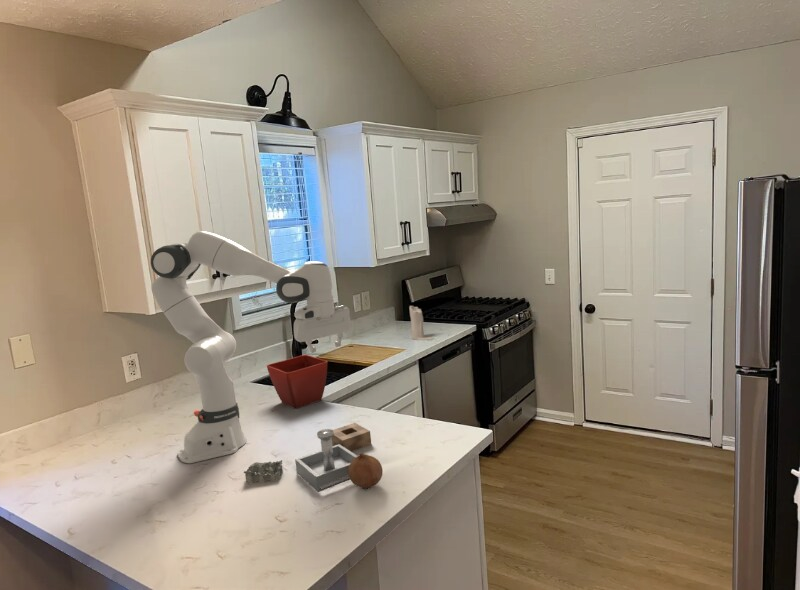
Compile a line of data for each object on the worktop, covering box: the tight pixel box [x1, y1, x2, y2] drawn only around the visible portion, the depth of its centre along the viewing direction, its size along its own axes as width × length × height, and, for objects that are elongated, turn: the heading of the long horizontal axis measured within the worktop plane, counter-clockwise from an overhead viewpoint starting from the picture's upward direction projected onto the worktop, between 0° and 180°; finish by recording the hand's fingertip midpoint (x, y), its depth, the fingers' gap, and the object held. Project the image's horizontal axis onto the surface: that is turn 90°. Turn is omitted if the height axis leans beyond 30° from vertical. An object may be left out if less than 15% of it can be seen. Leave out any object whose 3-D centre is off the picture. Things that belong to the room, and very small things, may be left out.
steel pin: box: [316, 428, 336, 472], centre depth 159 cm, size 5×5×12 cm
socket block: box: [331, 422, 372, 453], centre depth 176 cm, size 10×10×6 cm
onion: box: [348, 452, 384, 490], centre depth 150 cm, size 10×9×10 cm
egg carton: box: [243, 459, 284, 484], centre depth 162 cm, size 11×8×4 cm
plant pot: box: [266, 354, 328, 409], centre depth 226 cm, size 19×19×17 cm
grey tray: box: [294, 444, 358, 493], centre depth 160 cm, size 15×15×4 cm
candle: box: [409, 305, 435, 341], centre depth 319 cm, size 7×14×20 cm, turn 59°
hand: (325, 349), depth 183 cm, fingers open, 8 cm apart
